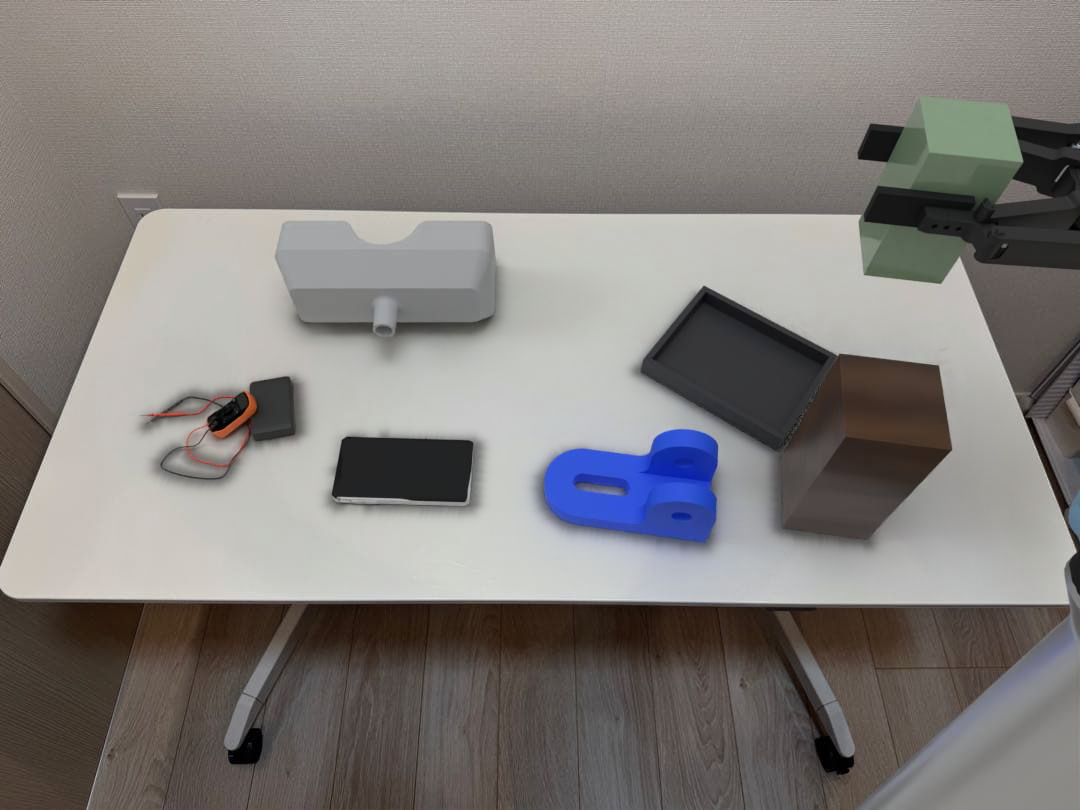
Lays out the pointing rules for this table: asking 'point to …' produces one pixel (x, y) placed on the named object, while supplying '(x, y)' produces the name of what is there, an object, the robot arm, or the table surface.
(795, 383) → the tray
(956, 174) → the green block
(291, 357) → the table surface
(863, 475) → the stand
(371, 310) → the tank
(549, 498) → the bracket
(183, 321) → the table surface
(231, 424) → the multimeter
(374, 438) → the smartphone
